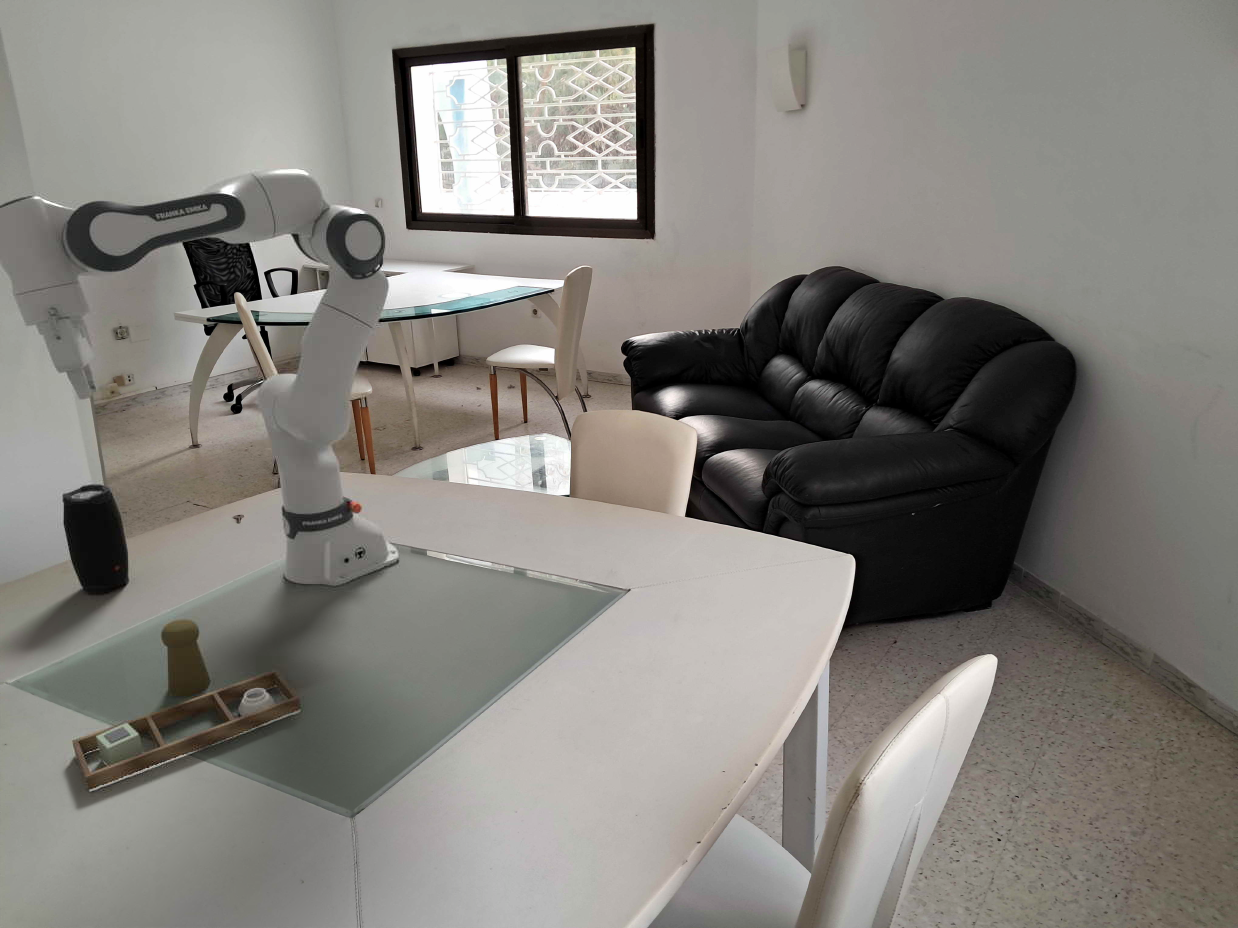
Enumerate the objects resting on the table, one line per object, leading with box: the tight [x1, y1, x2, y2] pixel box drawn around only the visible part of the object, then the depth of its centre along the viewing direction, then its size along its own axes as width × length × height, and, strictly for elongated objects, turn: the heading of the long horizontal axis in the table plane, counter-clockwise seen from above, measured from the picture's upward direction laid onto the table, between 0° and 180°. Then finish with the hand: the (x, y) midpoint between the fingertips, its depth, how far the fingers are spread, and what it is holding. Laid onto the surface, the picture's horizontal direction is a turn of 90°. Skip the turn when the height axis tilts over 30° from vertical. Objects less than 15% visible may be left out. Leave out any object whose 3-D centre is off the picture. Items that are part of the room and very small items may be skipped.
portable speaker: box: [62, 483, 130, 596], centre depth 165 cm, size 9×9×20 cm
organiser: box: [72, 669, 302, 791], centre depth 125 cm, size 28×10×2 cm, turn 130°
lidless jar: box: [238, 688, 276, 717], centre depth 131 cm, size 5×3×5 cm
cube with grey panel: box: [96, 723, 144, 766], centre depth 120 cm, size 4×4×4 cm
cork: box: [160, 618, 212, 698], centre depth 135 cm, size 6×6×11 cm
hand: (89, 395), depth 137 cm, fingers open, 8 cm apart
